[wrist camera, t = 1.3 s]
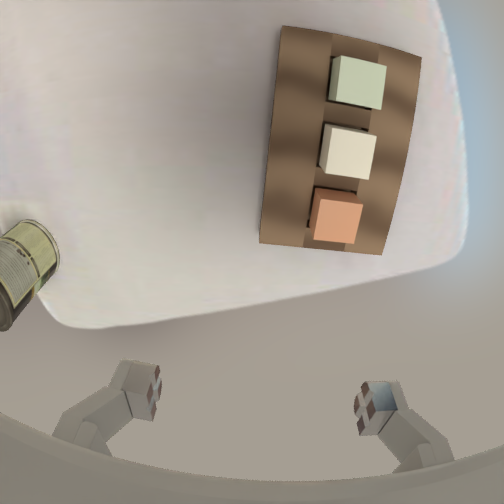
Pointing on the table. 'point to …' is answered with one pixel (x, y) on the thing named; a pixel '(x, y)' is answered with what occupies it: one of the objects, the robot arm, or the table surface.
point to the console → (312, 130)
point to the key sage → (357, 82)
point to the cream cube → (347, 151)
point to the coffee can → (24, 267)
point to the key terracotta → (335, 216)
